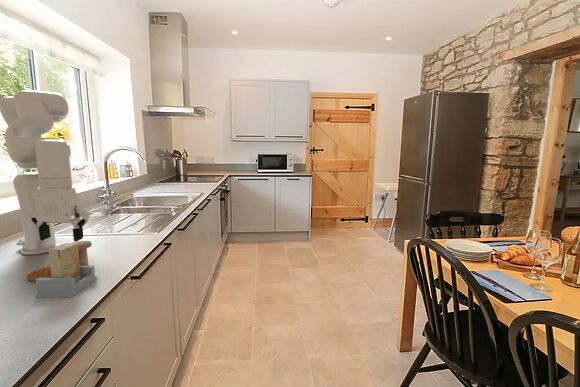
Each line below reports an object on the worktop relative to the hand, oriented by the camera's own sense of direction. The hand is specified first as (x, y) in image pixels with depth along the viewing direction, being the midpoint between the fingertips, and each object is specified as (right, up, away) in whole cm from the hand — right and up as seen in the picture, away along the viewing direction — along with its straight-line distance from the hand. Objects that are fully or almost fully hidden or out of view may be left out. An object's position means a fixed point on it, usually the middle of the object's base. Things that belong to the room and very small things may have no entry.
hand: (62, 239), depth 90 cm
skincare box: (0, -14, +2) cm, 14 cm away
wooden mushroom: (-3, -13, +13) cm, 19 cm away
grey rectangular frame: (0, -15, +2) cm, 15 cm away
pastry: (-11, -14, +9) cm, 20 cm away
